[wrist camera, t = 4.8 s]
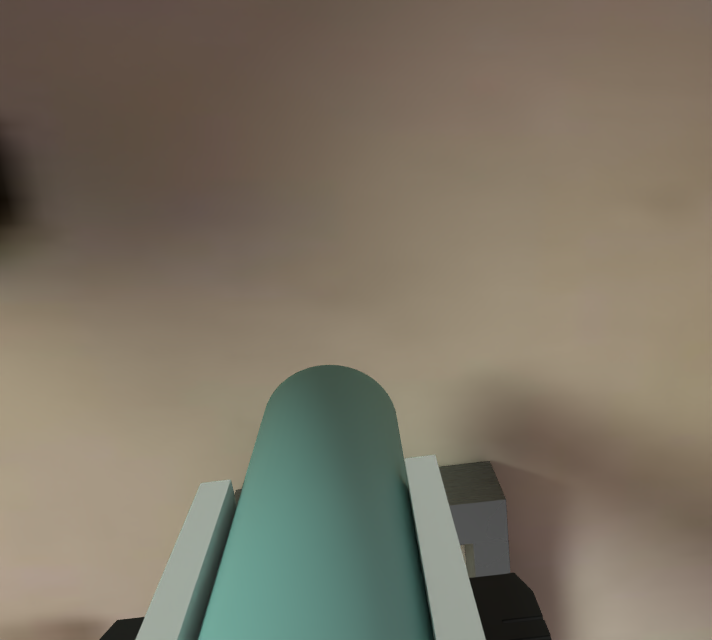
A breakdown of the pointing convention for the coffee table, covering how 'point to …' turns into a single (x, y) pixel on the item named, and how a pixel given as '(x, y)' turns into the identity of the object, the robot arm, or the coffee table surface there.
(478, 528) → the keyhole plate
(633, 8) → the coffee table surface
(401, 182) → the coffee table surface
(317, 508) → the peg
